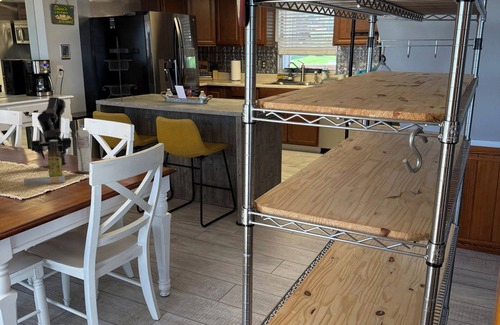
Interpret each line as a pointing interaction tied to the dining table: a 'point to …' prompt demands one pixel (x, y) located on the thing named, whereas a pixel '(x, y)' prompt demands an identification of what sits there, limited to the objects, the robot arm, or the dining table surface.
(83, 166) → the water bottle
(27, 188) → the dining table surface
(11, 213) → the dining table surface
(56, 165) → the sauce bottle
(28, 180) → the rail
